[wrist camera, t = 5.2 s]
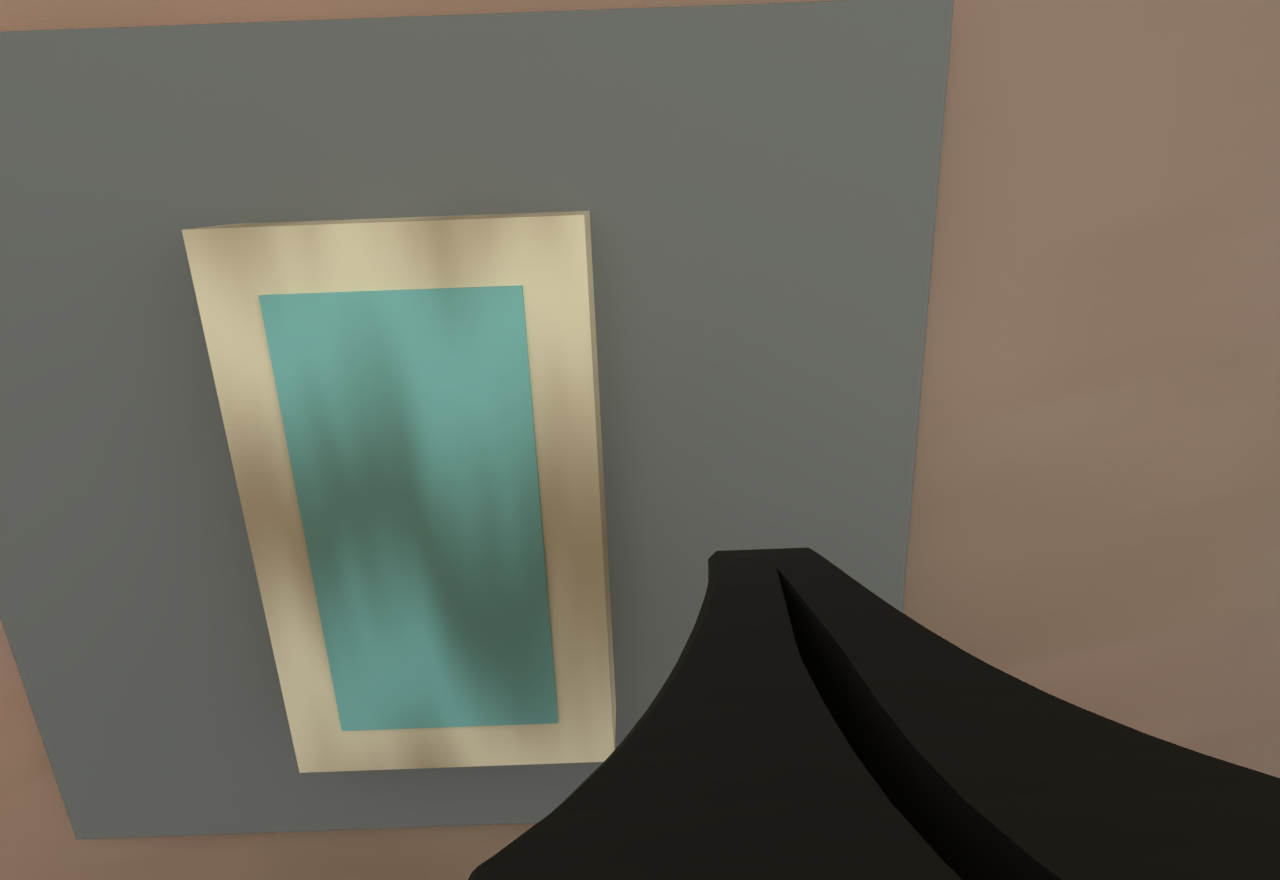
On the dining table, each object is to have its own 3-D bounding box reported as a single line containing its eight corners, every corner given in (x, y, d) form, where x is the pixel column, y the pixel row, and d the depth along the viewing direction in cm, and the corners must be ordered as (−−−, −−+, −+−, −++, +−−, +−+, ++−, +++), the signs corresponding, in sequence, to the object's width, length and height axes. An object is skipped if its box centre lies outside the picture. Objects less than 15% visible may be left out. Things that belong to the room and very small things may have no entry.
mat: (877, 790, 18) (885, 810, 17) (94, 818, 18) (76, 839, 17) (940, 4, 13) (954, -3, 12) (-161, 45, 13) (-199, 39, 12)
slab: (614, 765, 15) (297, 776, 15) (616, 707, 16) (330, 717, 16) (583, 215, 11) (177, 230, 11) (589, 210, 13) (233, 223, 13)
